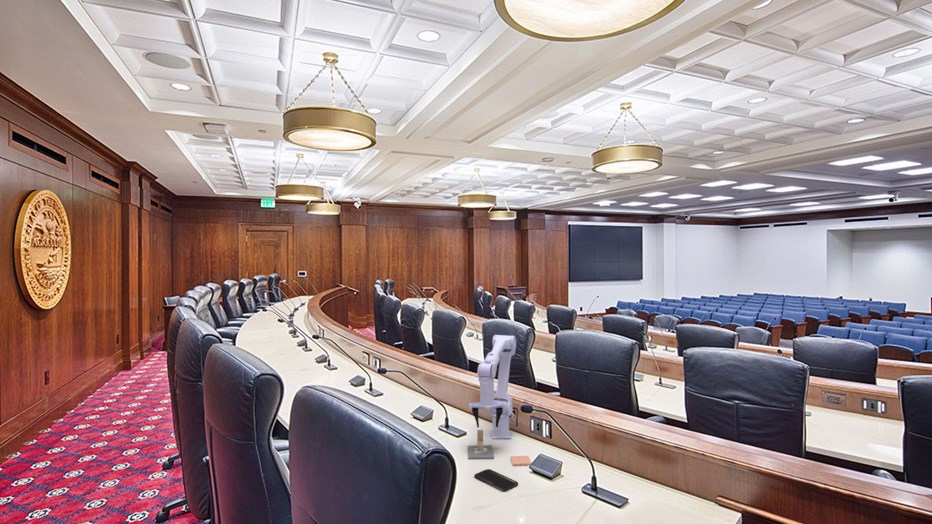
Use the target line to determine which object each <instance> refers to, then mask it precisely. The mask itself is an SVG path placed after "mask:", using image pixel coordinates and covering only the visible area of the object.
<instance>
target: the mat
mask: <svg viewBox="0 0 932 524" xmlns="http://www.w3.org/2000/svg"><path fill="white" fill-rule="evenodd" d="M474 448H478V445H467V456H468V457H467V459H468V460H495V455H494V451H493V445H491V444H489V445H488V444H483V448H487V455H475V454H474Z"/></svg>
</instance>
